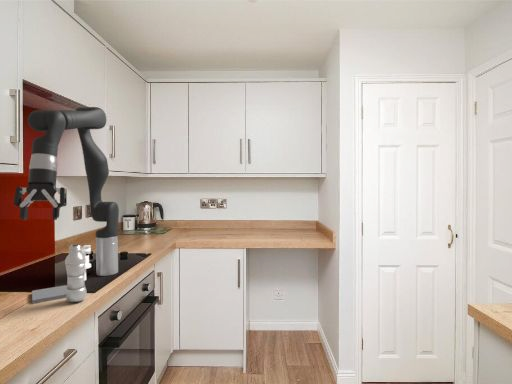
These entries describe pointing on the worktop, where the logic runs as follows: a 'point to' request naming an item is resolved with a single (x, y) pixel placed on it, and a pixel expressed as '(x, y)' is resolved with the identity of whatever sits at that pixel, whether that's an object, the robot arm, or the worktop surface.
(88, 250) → the white cylindrical piece
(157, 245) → the worktop surface
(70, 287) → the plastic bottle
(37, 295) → the board
